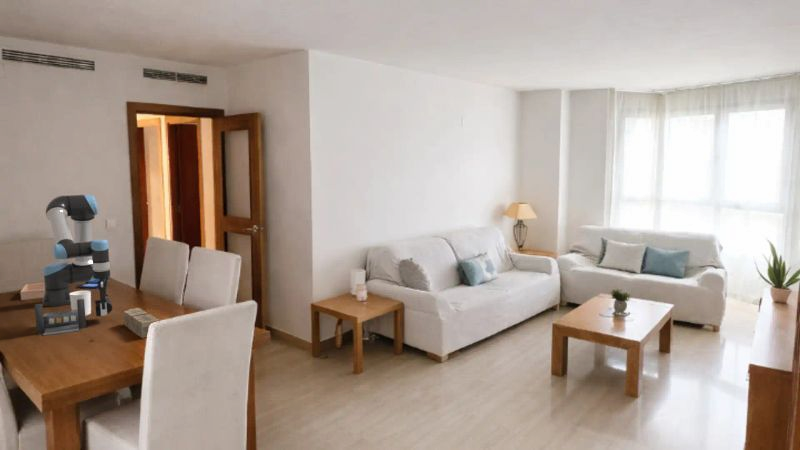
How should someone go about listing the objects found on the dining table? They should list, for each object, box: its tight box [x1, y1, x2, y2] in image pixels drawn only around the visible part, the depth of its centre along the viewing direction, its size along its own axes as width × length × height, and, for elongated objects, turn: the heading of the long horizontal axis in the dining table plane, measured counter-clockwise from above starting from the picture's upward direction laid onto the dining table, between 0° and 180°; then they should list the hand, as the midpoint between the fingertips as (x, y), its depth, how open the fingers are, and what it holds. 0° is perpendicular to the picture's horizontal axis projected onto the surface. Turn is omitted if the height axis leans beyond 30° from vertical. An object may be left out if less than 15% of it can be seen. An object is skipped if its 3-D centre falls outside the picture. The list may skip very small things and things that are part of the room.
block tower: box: [123, 307, 160, 339], centre depth 246 cm, size 8×8×29 cm
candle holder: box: [69, 289, 92, 317], centre depth 271 cm, size 10×10×12 cm
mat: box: [42, 324, 80, 337], centre depth 246 cm, size 11×14×1 cm
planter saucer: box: [20, 282, 45, 301], centre depth 315 cm, size 21×20×5 cm
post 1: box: [34, 303, 45, 335], centre depth 241 cm, size 3×3×14 cm
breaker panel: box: [43, 309, 79, 329], centre depth 254 cm, size 8×16×6 cm, turn 119°
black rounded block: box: [94, 298, 113, 317], centre depth 260 cm, size 10×7×7 cm
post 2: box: [77, 299, 87, 329], centre depth 249 cm, size 3×3×14 cm
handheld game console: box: [76, 277, 110, 290], centre depth 335 cm, size 16×13×9 cm
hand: (104, 312), depth 261 cm, fingers closed on black rounded block, 10 cm apart
